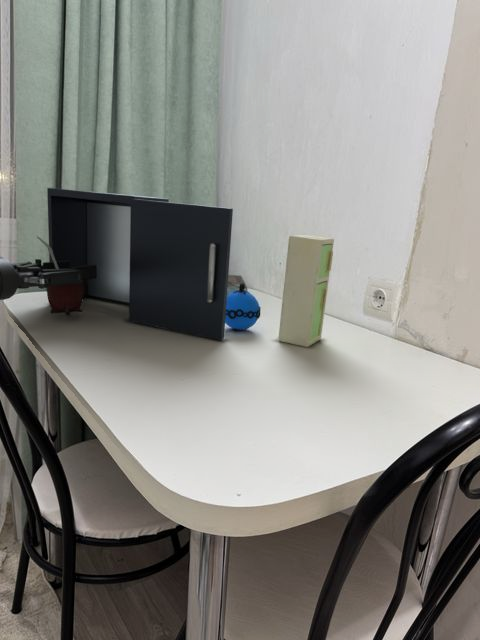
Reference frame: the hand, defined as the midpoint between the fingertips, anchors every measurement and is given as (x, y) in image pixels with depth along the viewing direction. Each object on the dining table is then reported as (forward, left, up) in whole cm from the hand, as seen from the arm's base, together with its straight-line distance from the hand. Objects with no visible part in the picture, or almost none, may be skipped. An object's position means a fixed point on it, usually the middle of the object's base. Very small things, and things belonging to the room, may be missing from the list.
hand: (81, 269), depth 107 cm
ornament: (+32, +12, -10) cm, 36 cm away
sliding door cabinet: (+11, +7, -10) cm, 16 cm away
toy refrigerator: (+46, +13, -10) cm, 49 cm away
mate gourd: (0, -5, -9) cm, 10 cm away
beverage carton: (+17, +36, -10) cm, 41 cm away
